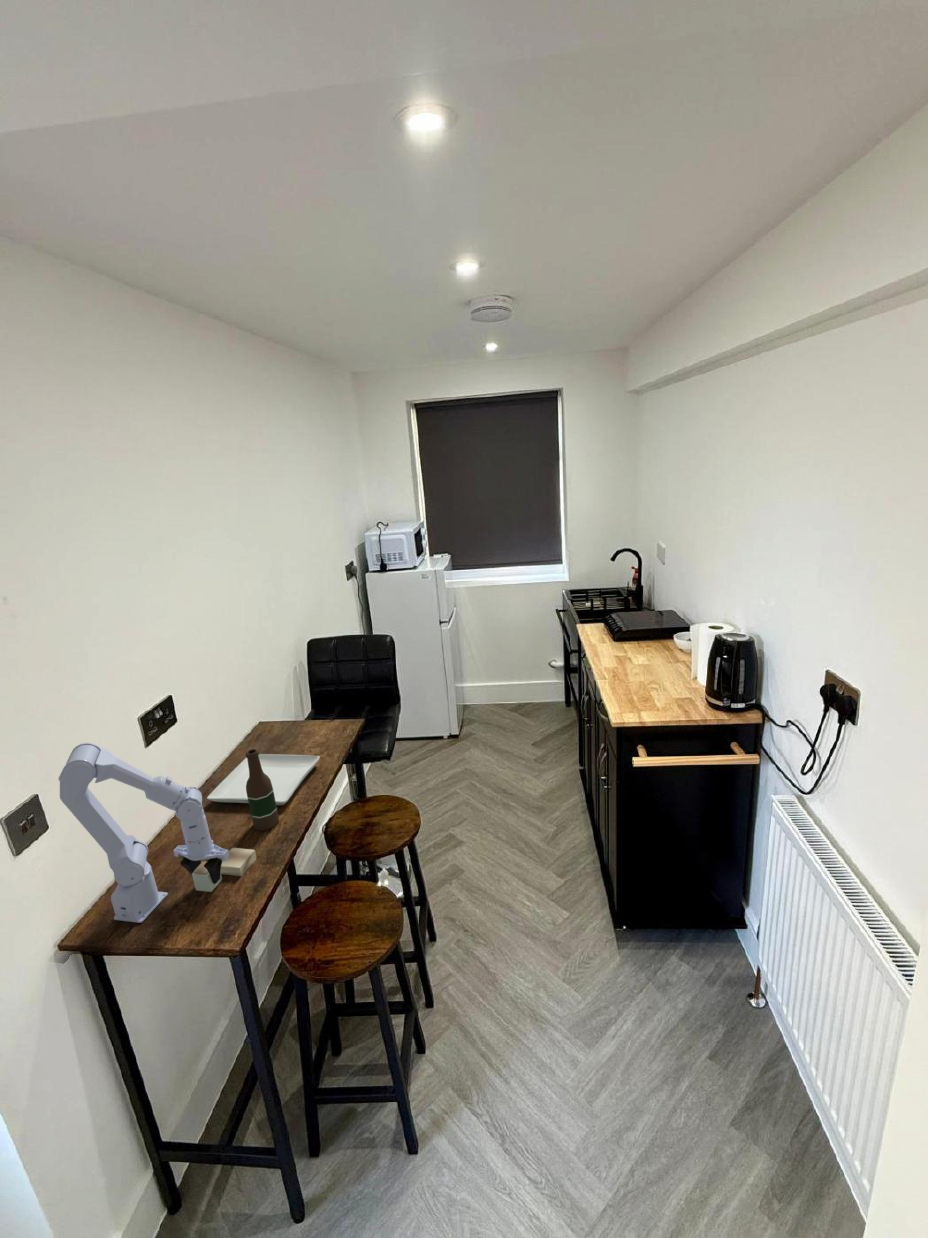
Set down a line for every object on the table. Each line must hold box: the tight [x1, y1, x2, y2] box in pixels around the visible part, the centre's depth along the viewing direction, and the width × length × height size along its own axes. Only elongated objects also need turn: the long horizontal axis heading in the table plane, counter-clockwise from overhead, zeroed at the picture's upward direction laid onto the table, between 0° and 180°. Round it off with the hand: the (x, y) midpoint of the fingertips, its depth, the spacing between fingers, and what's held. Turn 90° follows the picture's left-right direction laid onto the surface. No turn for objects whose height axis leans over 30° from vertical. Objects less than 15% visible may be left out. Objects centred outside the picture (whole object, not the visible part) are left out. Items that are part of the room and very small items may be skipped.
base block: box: [221, 847, 257, 877], centre depth 157 cm, size 7×7×3 cm
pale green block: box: [191, 860, 223, 893], centre depth 150 cm, size 4×4×6 cm
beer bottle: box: [245, 748, 280, 832], centre depth 171 cm, size 8×8×24 cm
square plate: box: [206, 753, 321, 806], centre depth 195 cm, size 27×27×4 cm
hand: (208, 880), depth 150 cm, fingers closed on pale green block, 4 cm apart
